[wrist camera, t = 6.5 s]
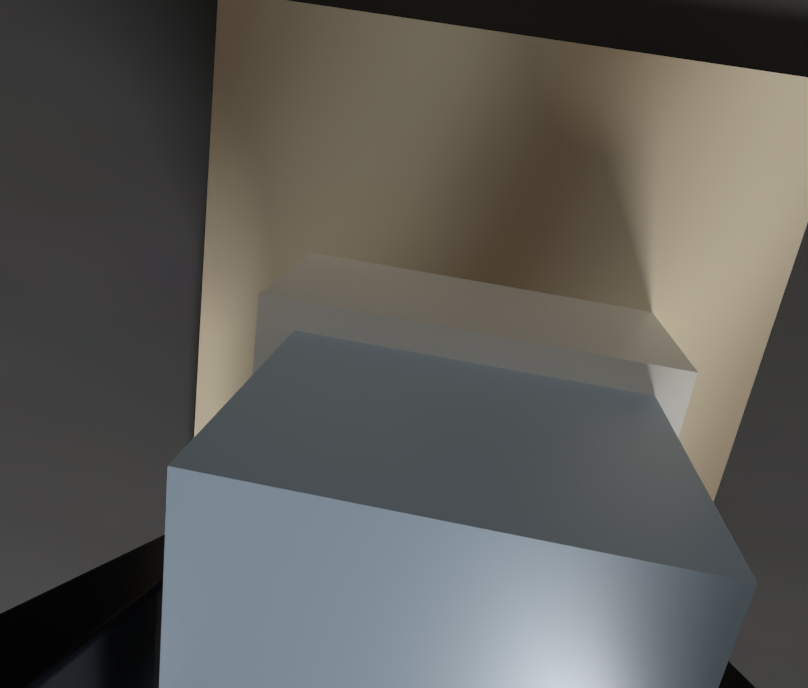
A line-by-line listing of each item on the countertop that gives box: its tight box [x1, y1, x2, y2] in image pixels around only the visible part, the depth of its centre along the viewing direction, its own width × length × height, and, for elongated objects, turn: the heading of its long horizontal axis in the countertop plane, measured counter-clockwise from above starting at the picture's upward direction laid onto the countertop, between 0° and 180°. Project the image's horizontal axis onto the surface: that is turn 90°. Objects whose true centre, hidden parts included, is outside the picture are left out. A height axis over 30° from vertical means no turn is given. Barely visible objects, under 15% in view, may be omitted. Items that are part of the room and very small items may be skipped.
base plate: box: [194, 0, 808, 502], centre depth 14 cm, size 10×14×1 cm
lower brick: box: [252, 253, 698, 437], centre depth 12 cm, size 6×6×3 cm
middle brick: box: [159, 330, 758, 688], centre depth 9 cm, size 5×5×4 cm
